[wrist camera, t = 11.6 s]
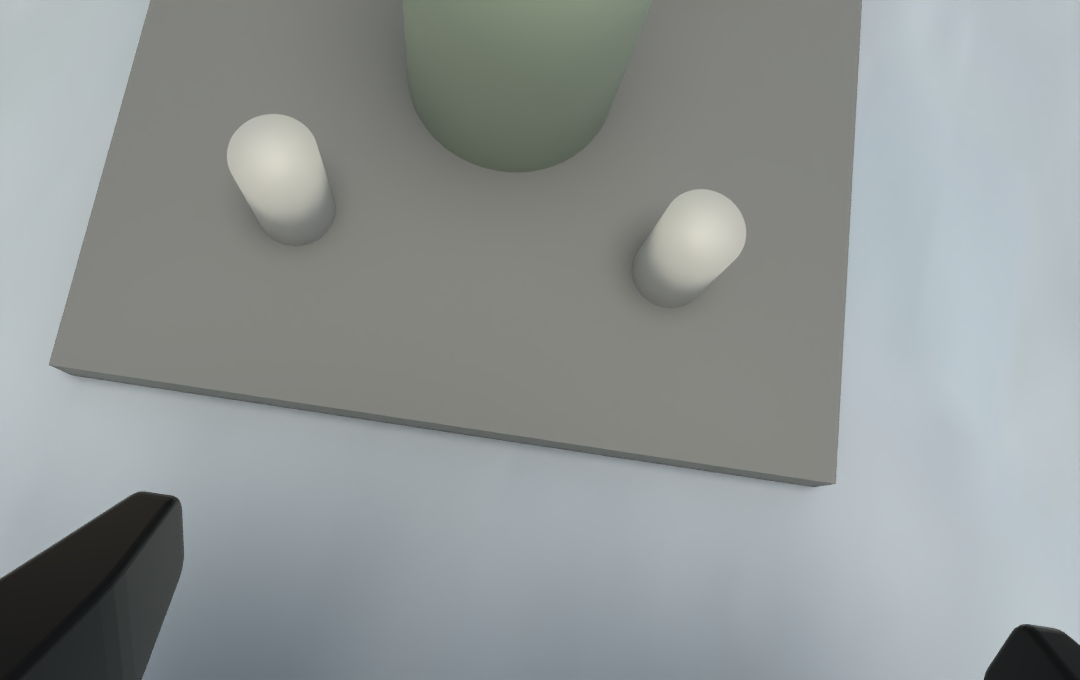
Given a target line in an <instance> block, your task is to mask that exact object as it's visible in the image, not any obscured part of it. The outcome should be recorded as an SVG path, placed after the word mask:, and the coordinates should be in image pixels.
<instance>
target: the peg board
mask: <svg viewBox="0 0 1080 680" xmlns="http://www.w3.org/2000/svg"><path fill="white" fill-rule="evenodd" d="M861 9H862V0H652V3H651V5H650V8H649V10H648V13H647V16H646V18H645V21H644V23H643V26H642V28H641V31H640V33H639V36H638V39H637V41H636V44H635V46H634V49H633V51H632V54H631V56H630V59H629V62H628V64H627V67H626V69H625V72H624V74H623V77H622V79H621V82H620V85H619V87H618V90H617V92H616V95H615V97H614V100H613V102H612V105H611V108H610V110H609V113H608V115H607V118H606V120H605V122H604V124H603V126H602V127H601V129H600V131H599V132H598V133H597V135H596V136H595V137H594V138H593V140H592V141H591V142H590V143H589V144H588V145H587V146H586V147H585V148H584V149H583V150H581V151H580V152H578V153H577V154H576V155H574V156H573V157H571V158H569V159H568V160H566V161H564V162H562V163H560V164H557V165H554V166H552V167H549V168H545V169H541V170H537V171H530V172H503V171H496V170H491V169H487V168H483V167H480V166H477V165H475V164H472V163H470V162H467V161H466V160H464V159H462V158H460V157H458V156H456V155H455V154H453V153H452V152H451V151H449V150H448V149H446V148H445V147H444V146H443V145H442V144H441V143H439V142H438V141H437V140H436V139H435V138H434V137H433V136H432V134H431V133H430V132H429V131H428V130H427V128H426V127H425V125H424V124H423V122H422V121H421V119H420V118H419V116H418V114H417V111H416V109H415V107H414V105H413V102H412V98H411V95H410V91H409V84H408V75H407V61H406V47H405V33H404V19H403V5H402V0H151V1H150V4H149V8H148V11H147V15H146V19H145V22H144V26H143V29H142V33H141V37H140V40H139V44H138V47H137V51H136V54H135V58H134V62H133V65H132V69H131V72H130V76H129V80H128V83H127V87H126V90H125V94H124V97H123V101H122V105H121V108H120V112H119V115H118V119H117V123H116V126H115V130H114V133H113V137H112V140H111V144H110V148H109V151H108V155H107V158H106V162H105V166H104V169H103V173H102V176H101V180H100V183H99V187H98V191H97V194H96V198H95V201H94V205H93V209H92V212H91V216H90V219H89V223H88V226H87V230H86V234H85V237H84V241H83V244H82V248H81V252H80V255H79V259H78V262H77V266H76V269H75V273H74V277H73V280H72V284H71V287H70V291H69V295H68V298H67V302H66V305H65V309H64V312H63V316H62V320H61V323H60V327H59V330H58V334H57V338H56V341H55V345H54V348H53V352H52V355H51V359H50V363H49V365H50V366H53V367H55V368H57V369H59V370H62V371H64V372H66V373H68V374H70V375H75V376H82V377H88V378H95V379H102V380H108V381H115V382H122V383H128V384H135V385H141V386H148V387H155V388H161V389H168V390H175V391H181V392H188V393H195V394H201V395H208V396H214V397H221V398H228V399H234V400H241V401H248V402H254V403H261V404H267V405H274V406H281V407H287V408H294V409H301V410H307V411H314V412H321V413H327V414H334V415H340V416H347V417H354V418H360V419H367V420H374V421H380V422H387V423H394V424H400V425H407V426H413V427H420V428H427V429H433V430H440V431H447V432H453V433H460V434H466V435H473V436H480V437H486V438H493V439H500V440H506V441H513V442H520V443H526V444H533V445H539V446H546V447H553V448H559V449H566V450H573V451H579V452H586V453H593V454H599V455H606V456H612V457H619V458H626V459H632V460H639V461H646V462H652V463H659V464H665V465H672V466H679V467H685V468H692V469H699V470H705V471H712V472H719V473H725V474H732V475H738V476H745V477H752V478H758V479H765V480H772V481H778V482H785V483H791V484H798V485H805V486H811V487H817V486H824V485H831V484H836V467H837V449H838V430H839V412H840V394H841V375H842V357H843V339H844V320H845V302H846V284H847V265H848V247H849V229H850V210H851V192H852V174H853V155H854V137H855V119H856V100H857V82H858V64H859V45H860V27H861Z"/></svg>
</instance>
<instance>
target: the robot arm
mask: <svg viewBox="0 0 1080 680" xmlns="http://www.w3.org/2000/svg"><path fill="white" fill-rule="evenodd" d="M183 560H184V542H183V521H182V506H181V503H180V501H179V499H178V498H176V497H174V496H171V495H164V494H157V493H151V492H137V493H135V494H132V495H131V496H129V497H127V498H126V499H124V500H123V501H121V502H120V503H118V504H116V505H115V506H113V507H112V508H110V509H109V510H107V511H105V512H104V513H102V514H101V515H99V516H98V517H96V518H95V519H93V520H91V521H90V522H88V523H87V524H85V525H84V526H82V527H80V528H79V529H77V530H76V531H74V532H73V533H71V534H69V535H68V536H66V537H65V538H63V539H62V540H60V541H59V542H57V543H55V544H54V545H52V546H51V547H49V548H48V549H46V550H44V551H43V552H41V553H40V554H38V555H37V556H35V557H34V558H32V559H30V560H29V561H27V562H26V563H24V564H23V565H21V566H19V567H18V568H16V569H15V570H13V571H12V572H10V573H9V574H7V575H5V576H4V577H2V578H1V579H0V680H142V677H143V674H144V672H145V669H146V666H147V664H148V661H149V658H150V656H151V653H152V650H153V647H154V645H155V642H156V639H157V637H158V634H159V631H160V629H161V626H162V623H163V621H164V618H165V615H166V613H167V610H168V607H169V605H170V602H171V599H172V597H173V594H174V591H175V589H176V586H177V583H178V581H179V578H180V575H181V571H182V567H183ZM984 680H1080V645H1079V644H1078V643H1077V642H1075V641H1074V640H1073V639H1072V638H1071V637H1069V636H1068V635H1067V634H1065V633H1064V632H1062V631H1060V630H1058V629H1055V628H1050V627H1043V626H1036V625H1030V624H1023V625H1020V626H1018V627H1017V628H1015V629H1014V630H1013V631H1012V632H1011V634H1010V635H1009V637H1008V638H1007V640H1006V642H1005V643H1004V645H1003V646H1002V648H1001V649H1000V651H999V652H998V654H997V655H996V657H995V658H994V660H993V661H992V663H991V664H990V666H989V667H988V669H987V671H986V673H985V677H984Z"/></svg>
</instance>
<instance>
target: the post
mask: <svg viewBox="0 0 1080 680" xmlns="http://www.w3.org/2000/svg"><path fill="white" fill-rule="evenodd" d="M651 3H652V0H402V5H403V19H404V33H405V47H406V61H407V75H408V84H409V91H410V95H411V98H412V102H413V105H414V107H415V109H416V111H417V114H418V116H419V118H420V119H421V121H422V122H423V124H424V125H425V127H426V128H427V130H428V131H429V132H430V133H431V134H432V136H433V137H434V138H435V139H436V140H437V141H438V142H439V143H441V144H442V145H443V146H444V147H445V148H446V149H448V150H449V151H451V152H452V153H453V154H455V155H456V156H458V157H460V158H462V159H464V160H466V161H467V162H470V163H472V164H475V165H477V166H480V167H483V168H487V169H491V170H496V171H503V172H530V171H537V170H541V169H545V168H549V167H552V166H554V165H557V164H560V163H562V162H564V161H566V160H568V159H569V158H571V157H573V156H574V155H576V154H577V153H578V152H580V151H581V150H583V149H584V148H585V147H586V146H587V145H588V144H589V143H590V142H591V141H592V140H593V138H594V137H595V136H596V135H597V133H598V132H599V131H600V129H601V127H602V126H603V124H604V122H605V120H606V118H607V115H608V113H609V110H610V108H611V105H612V102H613V100H614V97H615V95H616V92H617V90H618V87H619V85H620V82H621V79H622V77H623V74H624V72H625V69H626V67H627V64H628V62H629V59H630V56H631V54H632V51H633V49H634V46H635V44H636V41H637V39H638V36H639V33H640V31H641V28H642V26H643V23H644V21H645V18H646V16H647V13H648V10H649V8H650V5H651Z"/></svg>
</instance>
